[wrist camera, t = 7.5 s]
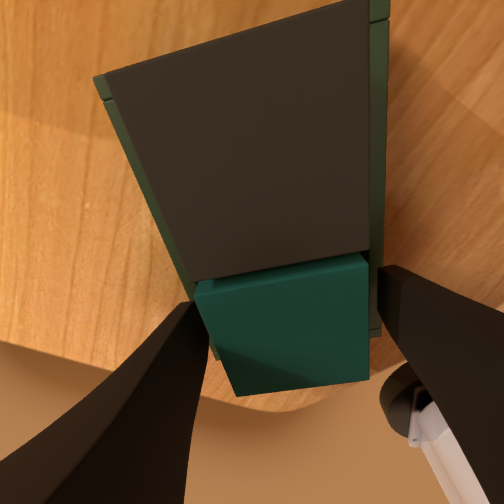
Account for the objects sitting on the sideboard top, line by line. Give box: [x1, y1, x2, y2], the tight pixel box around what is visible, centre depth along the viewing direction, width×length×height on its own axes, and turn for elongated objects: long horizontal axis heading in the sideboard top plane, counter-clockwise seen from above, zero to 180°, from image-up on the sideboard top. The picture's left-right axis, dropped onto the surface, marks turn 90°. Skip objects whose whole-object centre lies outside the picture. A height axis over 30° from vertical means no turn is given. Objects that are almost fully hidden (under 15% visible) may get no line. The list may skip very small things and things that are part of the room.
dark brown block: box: [104, 0, 370, 283], centre depth 7 cm, size 5×5×4 cm
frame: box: [92, 0, 390, 361], centre depth 10 cm, size 12×8×2 cm
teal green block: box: [194, 252, 369, 397], centre depth 10 cm, size 5×5×4 cm
